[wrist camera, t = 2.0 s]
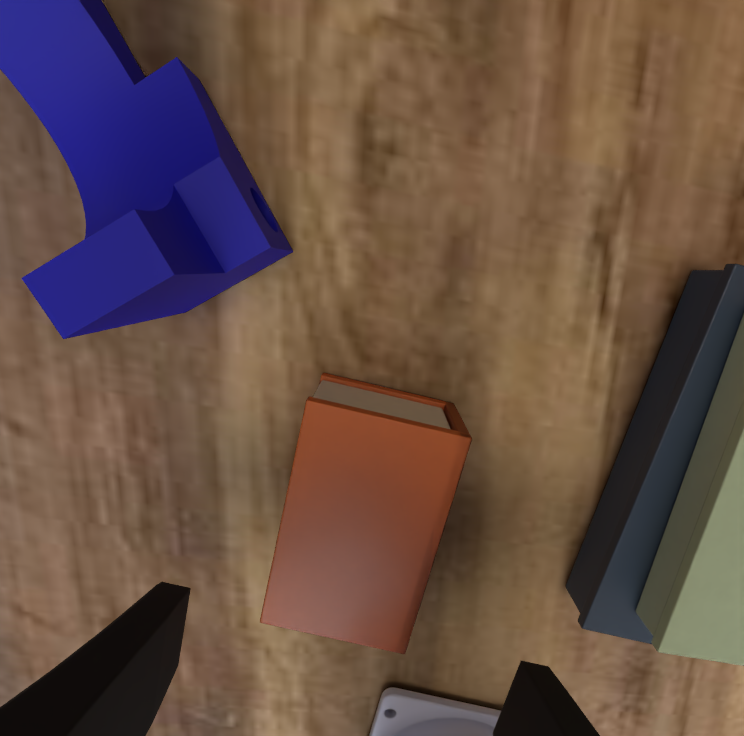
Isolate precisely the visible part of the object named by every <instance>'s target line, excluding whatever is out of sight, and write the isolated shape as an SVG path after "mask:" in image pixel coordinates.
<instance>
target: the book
mask: <svg viewBox="0 0 744 736" xmlns="http://www.w3.org/2000/svg"><path fill="white" fill-rule="evenodd" d="M471 441H472V438H471V436H470V434H469V432H468V430H467V428H466V426H465V424H464V422H463V420H462V418H461V417H460V415H459V413H458V411H457V409H456V407H455V405H454V404H453V403H450V402H446V401H441V400H437V399H433V398H429V397H424V396H420V395H416V394H412V393H407V392H403V391H399V390H395V389H391V388H386V387H382V386H378V385H374V384H369V383H365V382H361V381H357V380H352V379H348V378H344V377H340V376H335V375H331V374H327V373H322V375H321V378H320V383H319V386H318V388H317V390H316V391H315V393H314V395H313V397H308V399H307V400H306V404H305V409H304V414H303V419H302V423H301V428H300V433H299V438H298V443H297V447H296V452H295V457H294V462H293V466H292V471H291V476H290V481H289V485H288V490H287V495H286V500H285V504H284V509H283V514H282V519H281V523H280V528H279V533H278V538H277V542H276V547H275V552H274V557H273V561H272V566H271V571H270V576H269V580H268V585H267V590H266V595H265V599H264V604H263V609H262V614H261V618H260V622H261V623H264V624H269V625H273V626H278V627H282V628H287V629H291V630H296V631H301V632H305V633H310V634H314V635H319V636H323V637H328V638H332V639H337V640H341V641H346V642H351V643H355V644H360V645H364V646H369V647H373V648H378V649H382V650H387V651H392V652H396V653H401V654H405V653H406V650H407V646H408V643H409V640H410V637H411V633H412V630H413V627H414V624H415V621H416V617H417V614H418V611H419V608H420V605H421V601H422V598H423V595H424V592H425V588H426V585H427V582H428V579H429V576H430V572H431V569H432V566H433V563H434V560H435V556H436V553H437V550H438V547H439V544H440V540H441V537H442V534H443V531H444V527H445V524H446V521H447V518H448V515H449V511H450V508H451V505H452V502H453V499H454V495H455V492H456V489H457V486H458V482H459V479H460V476H461V473H462V470H463V466H464V463H465V460H466V457H467V454H468V450H469V447H470V444H471Z"/></svg>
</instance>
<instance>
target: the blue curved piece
mask: <svg viewBox="0 0 744 736" xmlns="http://www.w3.org/2000/svg"><path fill="white" fill-rule="evenodd" d="M0 69H1V70H2V72H3V73H4V74H5V75H6V76H7V77H8V79H9V80H10V81H11V82H12V84H13V85H14V86H15V87H16V89H17V90H18V91H19V92H20V93H21V95H22V96H23V97H24V99H25V100H26V101H27V103H28V104H29V105H30V107H31V108H32V109H33V111H34V112H35V113H36V115H37V116H38V118H39V119H40V120H41V122H42V123H43V125H44V126H45V128H46V129H47V131H48V132H49V134H50V135H51V137H52V138H53V140H54V142H55V143H56V145H57V146H58V148H59V150H60V152H61V154H62V155H63V157H64V159H65V161H66V163H67V165H68V167H69V169H70V171H71V173H72V175H73V177H74V180H75V182H76V184H77V187H78V189H79V192H80V196H81V199H82V202H83V206H84V211H85V218H86V236H85V240H83V241H81V242H80V243H78V244H77V245H75V246H73V247H72V248H70V249H68V250H67V251H65V252H63V253H62V254H60V255H59V256H57V257H55V258H54V259H52V260H50V261H49V262H47V263H46V264H44V265H42V266H41V267H39V268H37V269H36V270H34V271H32V272H31V273H29V274H28V275H26V276H24V277H23V278H22V279H23V281H24V282H25V284H26V285H27V287H28V288H29V290H30V291H31V293H32V294H33V295H34V297H35V298H36V300H37V301H38V303H39V304H40V306H41V307H42V309H43V310H44V312H45V313H46V314H47V316H48V317H49V319H50V320H51V322H52V323H53V325H54V326H55V328H56V329H57V330H58V332H59V333H60V335H61V336H62V338H63V339H66V338H71V337H75V336H80V335H84V334H89V333H93V332H98V331H103V330H107V329H112V328H116V327H121V326H125V325H130V324H135V323H139V322H144V321H148V320H153V319H157V318H162V317H167V316H171V315H176V314H180V313H185V312H187V311H189V310H191V309H192V308H194V307H196V306H198V305H200V304H201V303H203V302H205V301H207V300H208V299H210V298H212V297H214V296H216V295H217V294H219V293H221V292H223V291H224V290H226V289H228V288H230V287H232V286H233V285H235V284H237V283H239V282H240V281H242V280H244V279H246V278H247V277H249V276H251V275H253V274H255V273H256V272H258V271H260V270H262V269H263V268H265V267H267V266H269V265H271V264H272V263H274V262H276V261H278V260H279V259H281V258H283V257H285V256H287V255H288V254H290V253H292V252H293V250H292V248H291V247H290V245H289V243H288V241H287V239H286V237H285V236H284V234H283V232H282V230H281V228H280V226H279V225H278V223H277V221H276V219H275V217H274V215H273V214H272V212H271V210H270V208H269V206H268V204H267V203H266V201H265V199H264V197H263V195H262V193H261V192H260V190H259V188H258V186H257V184H256V183H255V181H254V179H253V177H252V175H251V173H250V172H249V170H248V168H247V166H246V164H245V162H244V161H243V159H242V157H241V155H240V153H239V151H238V150H237V148H236V146H235V144H234V142H233V140H232V139H231V137H230V135H229V133H228V131H227V130H226V128H225V126H224V124H223V122H222V120H221V119H220V117H219V115H218V113H217V111H216V109H215V108H214V106H213V104H212V102H211V100H210V98H209V97H208V95H207V93H206V91H205V89H204V87H203V86H202V84H201V82H200V80H199V79H198V78H197V77H196V76H195V75H194V74H193V73H192V72H191V71H190V70H189V69H188V68H187V67H186V66H185V65H184V64H183V63H182V62H181V61H180V60H179V59H178V58H177V57H176V58H175V59H173V60H172V61H170V62H169V63H167V64H166V65H164V66H163V67H161V68H160V69H158V70H157V71H155V72H154V73H152V74H151V75H149V76H147V77H146V78H145V76H144V74H143V73H142V71H141V69H140V67H139V66H138V64H137V62H136V60H135V59H134V57H133V55H132V53H131V52H130V50H129V48H128V46H127V45H126V43H125V41H124V39H123V37H122V36H121V34H120V32H119V30H118V29H117V27H116V25H115V23H114V22H113V20H112V18H111V16H110V15H109V13H108V11H107V9H106V8H105V6H104V4H103V2H102V1H101V0H0Z"/></svg>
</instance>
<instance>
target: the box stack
mask: <svg viewBox="0 0 744 736" xmlns="http://www.w3.org/2000/svg"><path fill="white" fill-rule="evenodd" d="M566 589H567V591H568V592H569V594H570V596H571V598H572V599H573V601H574V603H575V605H576V606H577V608H578V610H579V612H580V616H579V618H578V622H579V624H580V626H581V627H582V628H583V629H587V630H591V631H595V632H600V633H604V634H609V635H613V636H618V637H622V638H627V639H631V640H636V641H640V642H645V643H649V644H653V646H654V647H655V649H656V650H657V651H658V652H661V653H667V654H673V655H679V656H686V657H692V658H698V659H704V660H711V661H717V662H723V663H729V664H736V665H742V666H744V266H743V265H739V264H726V265H725V268H724V270H693V271H692V272H691V274H690V276H689V279H688V281H687V284H686V286H685V289H684V291H683V294H682V296H681V299H680V301H679V304H678V306H677V309H676V311H675V314H674V316H673V319H672V321H671V324H670V326H669V329H668V331H667V334H666V336H665V339H664V341H663V344H662V346H661V349H660V351H659V354H658V356H657V359H656V361H655V364H654V366H653V369H652V371H651V374H650V376H649V379H648V381H647V384H646V386H645V389H644V391H643V394H642V396H641V399H640V401H639V404H638V406H637V409H636V411H635V414H634V416H633V419H632V421H631V424H630V426H629V429H628V431H627V434H626V436H625V439H624V442H623V444H622V447H621V449H620V452H619V454H618V457H617V459H616V462H615V464H614V467H613V469H612V472H611V474H610V477H609V479H608V482H607V484H606V487H605V489H604V492H603V494H602V497H601V499H600V502H599V504H598V507H597V509H596V512H595V514H594V517H593V519H592V522H591V524H590V527H589V529H588V532H587V534H586V537H585V539H584V542H583V544H582V547H581V549H580V552H579V554H578V557H577V559H576V562H575V564H574V567H573V569H572V572H571V574H570V577H569V579H568V582H567V584H566Z"/></svg>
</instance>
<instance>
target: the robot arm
mask: <svg viewBox="0 0 744 736" xmlns="http://www.w3.org/2000/svg"><path fill="white" fill-rule="evenodd" d="M189 595H190V588H188V587H183V586H179V585H174V584H169V583H165V582H161V583H159V584H157V585H156V586H155V587H154V588H152V589H151V590H150V591H149V592H148V593H147V594H145V595H144V596H143V597H142V598H141V599H140V600H138V601H137V602H136V603H135V604H134V605H132V606H131V607H130V608H129V609H128V610H127V611H125V612H124V613H123V614H122V615H121V616H119V617H118V618H117V619H116V620H114V621H113V622H112V623H111V624H110V625H108V626H107V627H106V628H105V629H103V630H102V631H101V632H100V633H98V634H97V635H96V636H95V637H93V638H92V639H91V640H90V641H88V642H87V643H86V644H84V645H83V646H82V647H81V648H79V649H78V650H77V651H76V652H74V653H73V654H72V655H70V656H69V657H68V658H67V659H65V660H64V661H63V662H61V663H60V664H59V665H58V666H56V667H55V668H54V669H52V670H51V671H50V672H48V673H47V674H46V675H44V676H43V677H41V678H40V679H39V680H37V681H36V682H35V683H33V684H32V685H30V686H29V687H28V688H26V689H25V690H24V691H22V692H21V693H19V694H18V695H17V696H15V697H14V698H12V699H11V700H10V701H8V702H7V703H6V704H4V705H3V706H1V707H0V736H145V735H146V734H147V732H148V730H149V728H150V726H151V724H152V722H153V720H154V718H155V716H156V714H157V711H158V709H159V707H160V705H161V703H162V701H163V698H164V696H165V694H166V692H167V689H168V687H169V685H170V683H171V680H172V678H173V676H174V674H175V671H176V669H177V667H178V663H179V657H180V651H181V644H182V638H183V632H184V626H185V620H186V613H187V607H188V601H189ZM369 736H600V735H599V734H598V732H597V731H596V730H595V728H594V727H593V726H592V724H591V723H590V722H589V720H588V719H587V718H586V716H585V715H584V713H583V712H582V711H581V709H580V708H579V707H578V705H577V704H576V703H575V701H574V700H573V698H572V697H571V696H570V694H569V693H568V692H567V690H566V689H565V688H564V686H563V685H562V684H561V682H560V681H559V680H558V678H557V677H556V676H555V674H554V673H553V672H552V671H551V669H550V668H549V667H548V666H543V665H539V664H534V663H530V662H525V661H521V662H520V664H519V667H518V670H517V672H516V675H515V677H514V680H513V682H512V685H511V687H510V690H509V692H508V695H507V698H506V700H505V703H504V705H503V708H502V710H496V709H492V708H487V707H482V706H478V705H473V704H468V703H464V702H459V701H455V700H450V699H445V698H441V697H436V696H432V695H427V694H422V693H418V692H413V691H409V690H404V689H399V688H393V687H391V688H387V689H386V690H384V691H383V693H382V695H381V698H380V701H379V705H378V708H377V711H376V715H375V718H374V721H373V725H372V728H371V731H370V734H369Z"/></svg>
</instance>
